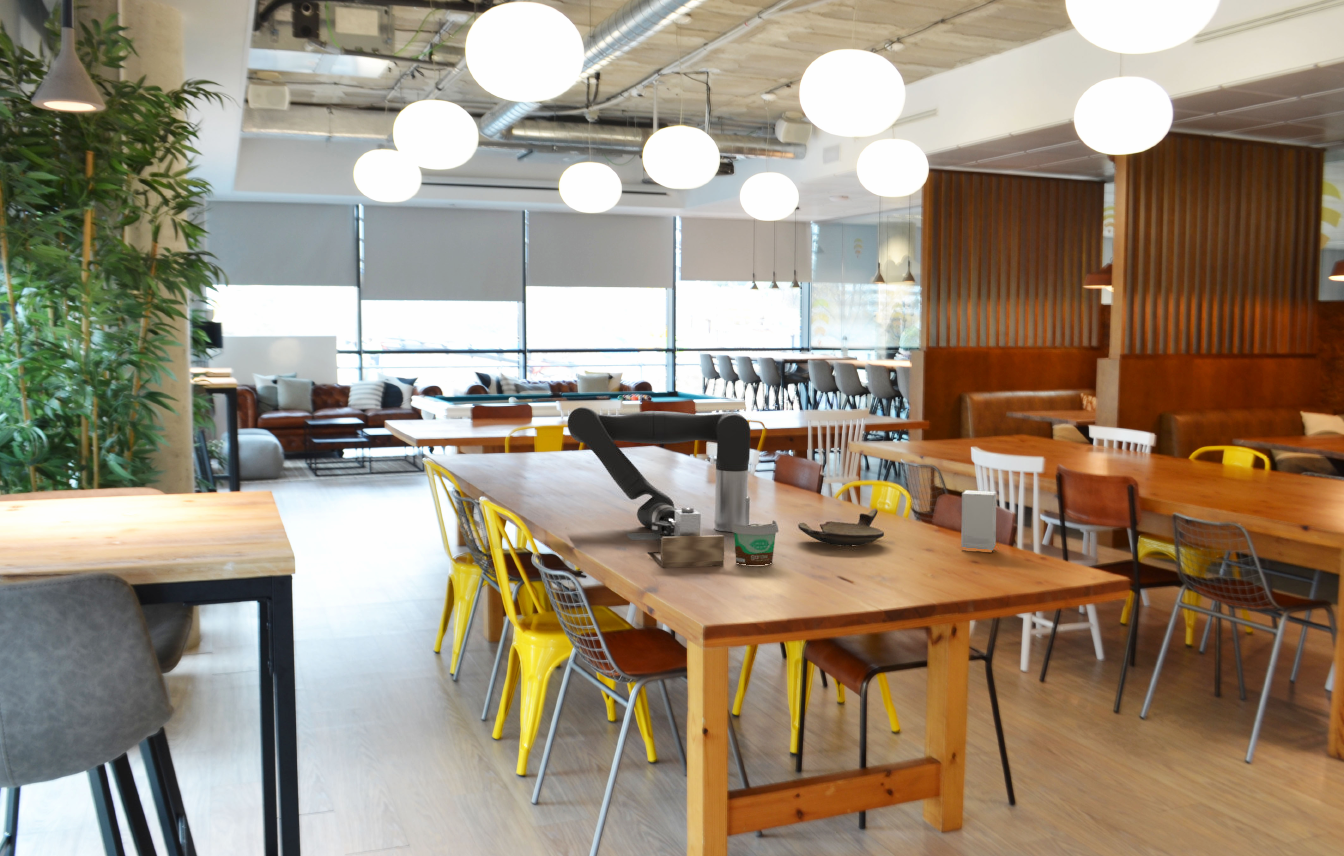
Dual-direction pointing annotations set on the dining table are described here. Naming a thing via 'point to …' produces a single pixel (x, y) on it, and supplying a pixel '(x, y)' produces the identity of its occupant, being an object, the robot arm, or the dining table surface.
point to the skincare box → (978, 519)
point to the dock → (690, 551)
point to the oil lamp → (846, 531)
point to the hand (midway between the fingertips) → (683, 533)
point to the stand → (643, 536)
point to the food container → (754, 543)
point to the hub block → (687, 522)
